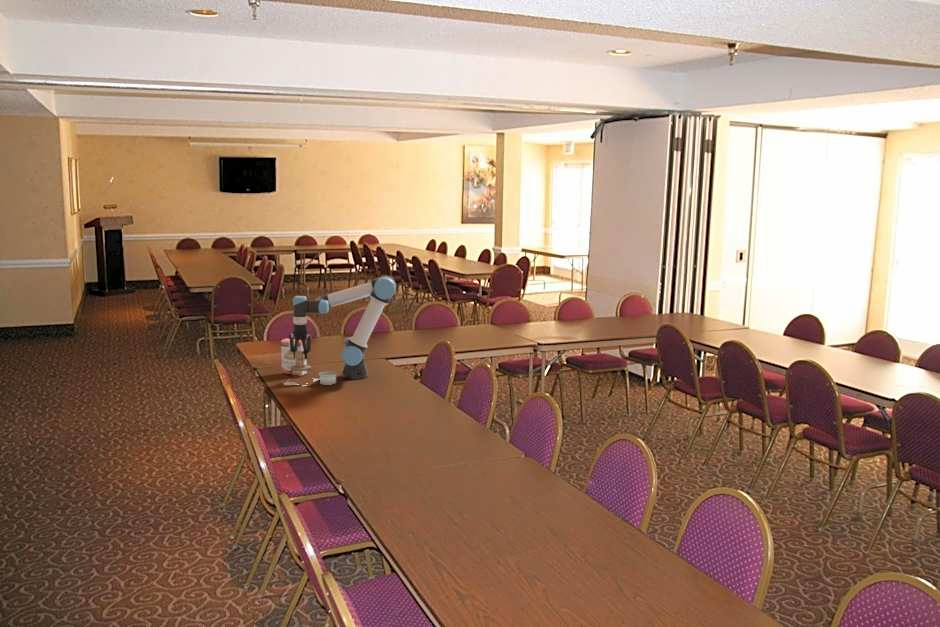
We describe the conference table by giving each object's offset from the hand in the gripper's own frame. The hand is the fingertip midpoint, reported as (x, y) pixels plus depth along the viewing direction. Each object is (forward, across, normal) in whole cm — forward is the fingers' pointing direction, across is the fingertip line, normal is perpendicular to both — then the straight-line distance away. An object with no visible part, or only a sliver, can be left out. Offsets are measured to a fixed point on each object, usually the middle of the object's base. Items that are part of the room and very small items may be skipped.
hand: (300, 364), depth 438 cm
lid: (+3, 0, 0) cm, 3 cm away
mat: (+11, 0, 0) cm, 11 cm away
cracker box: (+11, -12, +16) cm, 23 cm away
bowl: (+10, +16, 0) cm, 19 cm away
